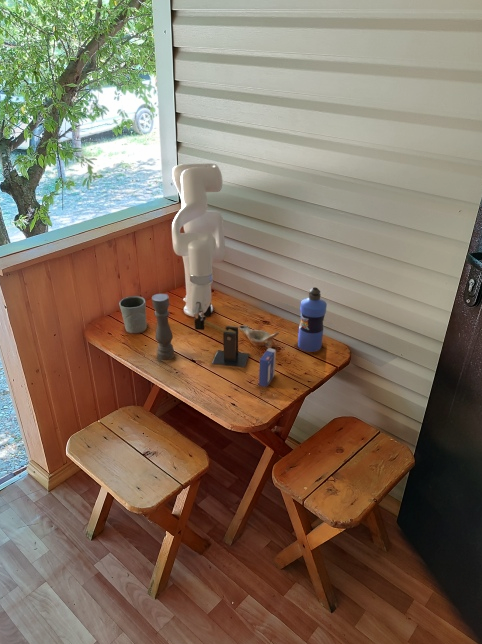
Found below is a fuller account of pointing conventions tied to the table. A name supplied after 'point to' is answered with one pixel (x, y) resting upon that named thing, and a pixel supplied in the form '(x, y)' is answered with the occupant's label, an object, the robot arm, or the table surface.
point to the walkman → (267, 367)
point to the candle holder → (163, 327)
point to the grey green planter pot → (134, 314)
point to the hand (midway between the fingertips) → (203, 322)
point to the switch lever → (216, 326)
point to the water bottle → (311, 321)
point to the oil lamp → (258, 336)
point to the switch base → (231, 350)
